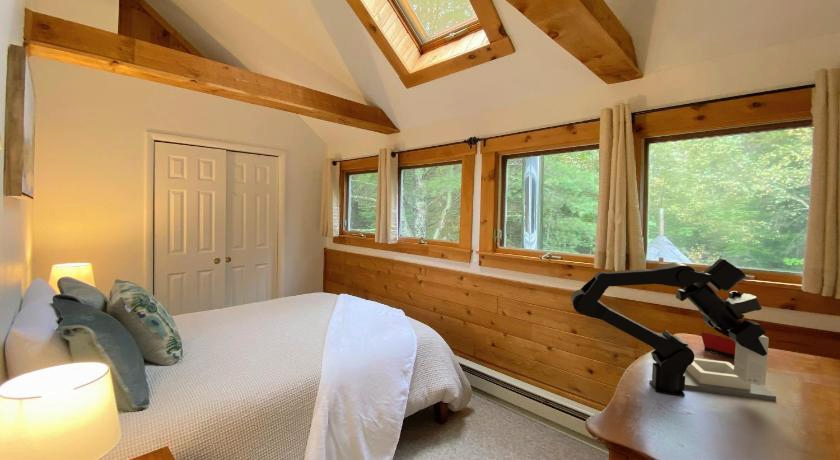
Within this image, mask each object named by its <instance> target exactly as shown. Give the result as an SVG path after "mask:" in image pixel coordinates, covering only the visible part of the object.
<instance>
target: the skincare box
mask: <svg viewBox="0 0 840 460" xmlns="http://www.w3.org/2000/svg"><path fill="white" fill-rule="evenodd" d="M769 339H770V337H768V336H766V335H765V334H763V335H762V336H760V337H759V340H760V342H761V344H762V345H763V347H764V349H765V351H766V352H767V354H766V355H765V356H762V355H760V354H758V353H755V352H753V351H751V350H749V349H747V348H745V347H742V346H740V345H738V344H737V343H736V347H735V359H734V363H733V366H734V374H735V375H737V376H738V377H739V378H740V379H742V380H743V381H744V382H746V383H752V384H759V385H761V386H766V378H767V368H768V367H767V365H768V352H769V341H770V340H769Z"/></svg>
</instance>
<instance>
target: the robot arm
mask: <svg viewBox="0 0 840 460" xmlns="http://www.w3.org/2000/svg"><path fill="white" fill-rule="evenodd" d="M746 278H747V275H746V274H745V273H744V272H743V271H742V270H741V268H738V267H736V266H735V265H733V264H732V263H730V262H728V261H727V260H726V259H725V258H719V259H717V260H716V261H715V262H714V263H713V264H712V265H710V266H709V267H708V268H706V269H705V270H704V271H703V270H700V269H698V268H697V269H694V268H693V267H692V266H691V265H687V264H685V263H684V264H683V263H681V262H671V263H667V264H661V265H659V266H656V267H652V268H646V269H645V268H643V269H641V268H640V269H627V270H626V269H625V270H613V271H601V270H600V271H598V272H596V273H595V275H594V276H593V277H592V278H591V279H590V280H589V281H587V282H586V283H585V284H584V285H582V287H581V288H580V289H577V290H575V291H573V292H572V293H571V295H570V302H571V305H572V307H573V308H574V310H575V312H577V313H578V314H581V315H583V316H586V317H588V318H592V319H597V320H601V321H603V322H605V323H607V324H609V325H610V326H612V327H614V328H616V329H618V330H620V331H621V332H624V333H625V334H627V335H629V336H630V337H633V338H635V339H636V340H638V341H640V342H642V343H644V344H645V345H647V346H650V347H651V348H652V349H654V350H652V351H651V352H650V354H651V358H652V360H653V361H654V362H652V373H651V374H652V375H651V379H650V380H649V384H650V383H651V384H650V385H651V387H652V388H653V390H655V392H656V393H659V394H667V395H674V396H680V397H681V396H682V397H685V396H686V394H685V392H684V391H685V390H686V389H685V376H684V375H683V374H684V373H685V371H686V369H687V367H688V366H689V365H691V364H692V363H693V361H694V358H695V353H694V351H693V350H692V349H691V348H690V347H689V344H688V343H687V342H686V341H685V340H684V339H683V338H681V337H680V336H679V335H674V334H672V333H671V332H669V331H668V330H666V329H664V330H663V331H662V333H661V332H656V331H654V330H652V329H651V328H648V327H647V326H644V325H643V324H641V323H639V322H637V321H635V320H633V319H632V318H629V317H627V316H625V315H624V314H621V313H620V312H618V311H616V310H615V309H613V308H611V307H609V306H607V305H605V304H604V303H603V302H602V301H600V299H601V297H602V296H603V295H604V294H605V292H606V291H607V289H609V287H621V286H622V287H623V286H624V287H625V286H641V285H643V286H644V285H660V286H668V287H676V288H677V289H676V290H675V291H676V293H675V294H676V295H675V298H676V299H677V300H678V301H680V302H684V301H685V300H689V301H690V302H691V303H692V304H693V306H695V307H696V308H697V309H698V312H699V313H701V315H702V321H703V322H704V323H705V324H706V325H707V326H709V327H710V328H713V330H715V331H716V332H718V333H720V334H722V335H723V336H725V337H726V338H729V339H732V340H733V341H734V342H735V343H737V344H738V345H740V346H742V347H745V348H747V349H749V350H751V351H753V352H755V353H758V354H760V355H762V356H765V355H766V354H767V352H766V351H765V349H764V347H763V345H762V344H761V342H760V340H759V337H760V336H762V335H766V333H767V330H766V329H765V327H763V326H762V325H761V324H760V323H758V322H756V321H753V320H749V319H744V318H745V315H744V314H747V313H750V312H751V313H752V312H755V311H757V312H758V311H761V310H762V309H763V307H762V305H761V303H760V301H759V299H758V297H757V296H756V295H753V294H750V293H741V292H739V291H737V290H732V291H729V290H731V289H733V287H735V286H737V285H738V284H739V283H740V282H742V281H744V280H745V279H746ZM714 290H715V291H714ZM716 291H717V292H720V291H723V292H726V293H727V292H728V291H729V292H728V296H727V299H723V298H722V297H721V296H720V295H719V294H718V293H716ZM742 319H744V320H743V321H740V320H742Z"/></svg>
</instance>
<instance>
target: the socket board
mask: <svg viewBox="0 0 840 460" xmlns="http://www.w3.org/2000/svg"><path fill="white" fill-rule="evenodd" d="M683 375H684V376H685V390H690V391H691V390H692V391H698V392H707V393H714V394H720V395H727V396H735V397H741V398H742V397H743V398H749V399H750V398H751V399H756V400H757V399H758V400H765V401H773V402H777V396H776V395H775V394H774V393H772V392H771V391H770V390H768V389H767V388H765V387H764V385H759V384H752V383H746V382H744V381H743V380H742V379H740V378H739V377H738V376H737V375H735V374H734V364H732V363H730V362H729V361H725V360H724V361H723V360H715V359H705V358H697V357H694V361H693V363H692V364H691V365H689V366H688V367H687V369H686V371H685V373H684V374H683Z"/></svg>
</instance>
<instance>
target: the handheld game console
mask: <svg viewBox="0 0 840 460" xmlns="http://www.w3.org/2000/svg"><path fill="white" fill-rule="evenodd" d="M700 336H701V339H702V342H703V347H704V349H703V350H704V351H705V352H710V353H713V354H717V355H720V356H725V357H728V358H730V359H733V358H734V360H735V347H736V343H735V342H734V341H733V340H732V339H731V338H729V337H726V336H725V337H724V336H720V335H716V334H712V333H708V332H704V331H703V332H701V335H700Z"/></svg>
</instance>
